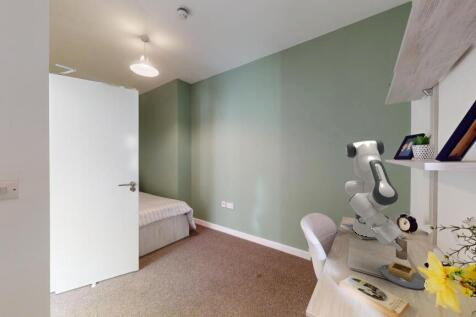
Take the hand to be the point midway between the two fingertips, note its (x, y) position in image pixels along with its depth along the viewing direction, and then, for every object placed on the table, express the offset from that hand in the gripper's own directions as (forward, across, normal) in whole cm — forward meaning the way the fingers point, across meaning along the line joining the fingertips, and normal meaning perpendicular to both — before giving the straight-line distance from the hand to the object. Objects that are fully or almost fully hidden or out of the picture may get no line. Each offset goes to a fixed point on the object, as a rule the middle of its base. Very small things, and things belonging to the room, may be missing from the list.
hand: (403, 248), depth 85 cm
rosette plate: (+9, 0, +10) cm, 14 cm away
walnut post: (+3, 0, +4) cm, 4 cm away
